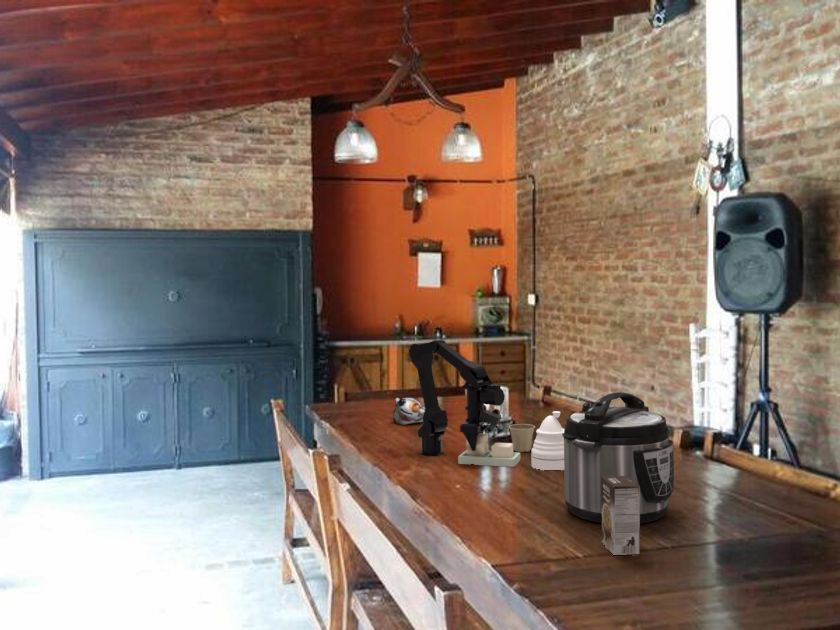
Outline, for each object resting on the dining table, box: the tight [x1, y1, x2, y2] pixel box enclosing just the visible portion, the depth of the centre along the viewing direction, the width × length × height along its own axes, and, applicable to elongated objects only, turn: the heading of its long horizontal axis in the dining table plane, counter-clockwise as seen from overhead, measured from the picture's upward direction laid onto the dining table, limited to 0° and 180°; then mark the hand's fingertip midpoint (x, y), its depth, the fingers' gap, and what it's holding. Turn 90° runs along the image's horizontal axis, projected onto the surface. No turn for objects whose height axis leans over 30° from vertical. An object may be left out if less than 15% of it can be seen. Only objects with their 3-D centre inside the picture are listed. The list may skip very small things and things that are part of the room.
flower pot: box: [508, 423, 536, 453], centre depth 297 cm, size 9×9×9 cm
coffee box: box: [601, 476, 641, 556], centre depth 191 cm, size 9×6×16 cm
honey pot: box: [530, 410, 564, 471], centre depth 272 cm, size 13×13×18 cm
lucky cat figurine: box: [392, 397, 425, 426], centre depth 353 cm, size 15×12×14 cm
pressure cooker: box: [562, 391, 675, 524], centre depth 219 cm, size 30×28×32 cm
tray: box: [457, 442, 521, 468], centre depth 280 cm, size 19×10×6 cm, turn 71°
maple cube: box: [465, 432, 489, 455], centre depth 281 cm, size 6×6×6 cm
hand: (476, 448), depth 282 cm, fingers closed on maple cube, 6 cm apart
